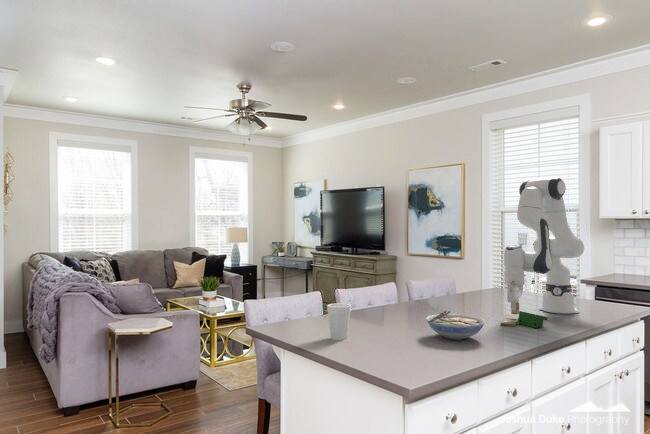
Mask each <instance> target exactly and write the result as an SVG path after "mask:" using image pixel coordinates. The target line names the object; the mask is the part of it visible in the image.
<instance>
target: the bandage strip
mask: <svg viewBox="0 0 650 434" xmlns="http://www.w3.org/2000/svg"><path fill="white" fill-rule="evenodd" d="M518 324H519V323H518V318H509V317H506V318H504V319H503V320H502V321H501V322H500V326H501V327H509V328H510V327H511V328H516V327H517V326H518Z"/></svg>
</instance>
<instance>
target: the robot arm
mask: <svg viewBox="0 0 650 434" xmlns="http://www.w3.org/2000/svg"><path fill="white" fill-rule="evenodd" d="M518 191H519V195H520V196H519V201H518V205H517V212H516V217H517V220H518V222H519V223H520V224H521V225H522V226H523V227H526V228H527V229H528V228H529V229H530V230H533V231H535V232H536V234H537V238H536V239H535V240H534V243H533V251H526V250H524V249H523V246H522V245H518V244H513V245H507V246H506V247H505V249H504V253H503V265H504V272H503V274H504V277H503V278H504V284H506V285H507V288H506V291H507V293H506V298H507V299H506V301H507V302H508V303H510V306H511V305H512V310H516V309H517V308H516V302H517V303H519V300H520V298H522V296H523V289H524V287H523V286H524V285H525V272H527V273H536V274H541V275H542V274H543V275H545V277H546V283H545V292H544V293H542V305H541V306H540V307H538V311H539V310H540V311H544V312H548V313H554V314H580V310H578V309H577V308H576V302H575V296H574V295H573V293H572V284H571V270H570V268H569V267H568V266H566V265H564V263H563V262H562V260H561V259H562V258H563V259H576V258H580V257H581V256H582V255H583V254H584V251H585V245H584V242H583V240H582V239H581V238H579V237H578V236H577V235H575V234H574V233H573V231H572V230H571V228H570V226H569V223H568V219H567V213H566V212H567V211H566V206H565V205H566V204H565V200H564V197H563V196H564V194H566V193H565V192H566V184H565V182H564V180H563V179H562V178H560V177H541V178H537V179H531V180H530V179H529V180H526V181H523V182H522V183H521V185H520V186H519V190H518ZM550 232H551V234H552V235H553V236H552V235H551V236H550Z"/></svg>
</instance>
